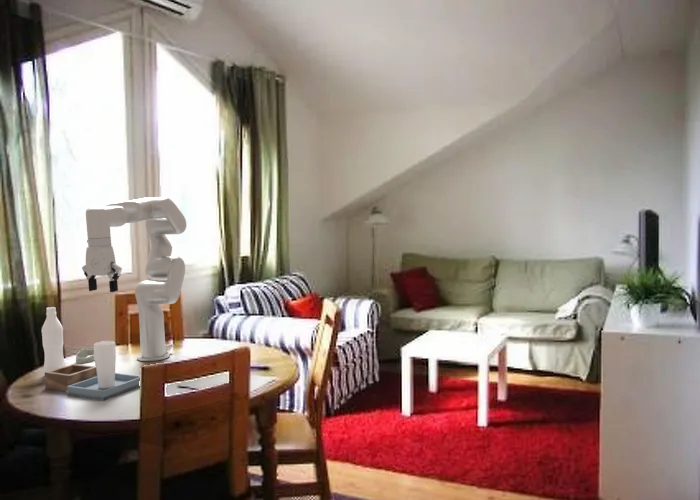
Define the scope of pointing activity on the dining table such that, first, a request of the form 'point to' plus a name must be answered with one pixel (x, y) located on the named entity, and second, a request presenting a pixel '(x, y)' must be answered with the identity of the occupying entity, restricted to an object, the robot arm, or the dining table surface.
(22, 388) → the dining table surface
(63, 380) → the frame
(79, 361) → the wristwatch
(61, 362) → the water bottle
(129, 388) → the tray
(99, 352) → the drinking glass
